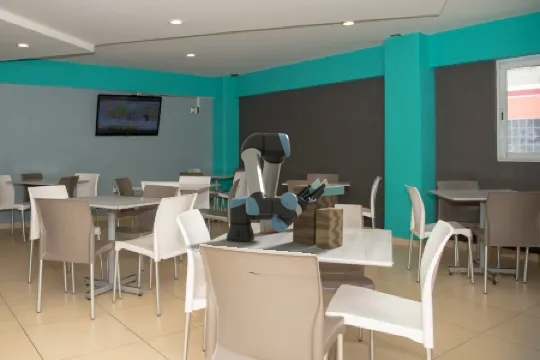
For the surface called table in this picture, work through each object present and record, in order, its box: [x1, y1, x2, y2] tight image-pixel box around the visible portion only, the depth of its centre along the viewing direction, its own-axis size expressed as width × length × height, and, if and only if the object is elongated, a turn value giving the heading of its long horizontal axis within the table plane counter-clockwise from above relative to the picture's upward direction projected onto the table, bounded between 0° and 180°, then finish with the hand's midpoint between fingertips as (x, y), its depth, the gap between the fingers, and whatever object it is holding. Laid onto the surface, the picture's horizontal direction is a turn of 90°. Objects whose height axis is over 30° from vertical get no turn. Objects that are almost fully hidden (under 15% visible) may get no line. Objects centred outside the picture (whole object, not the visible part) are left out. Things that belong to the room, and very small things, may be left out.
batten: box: [309, 185, 345, 196], centre depth 243 cm, size 24×4×4 cm, turn 137°
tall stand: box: [292, 183, 336, 246], centre depth 259 cm, size 18×14×30 cm
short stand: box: [315, 207, 344, 250], centre depth 246 cm, size 12×8×19 cm, turn 136°
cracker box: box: [259, 219, 285, 235], centre depth 287 cm, size 14×6×21 cm, turn 123°
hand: (322, 181), depth 240 cm, fingers closed on batten, 4 cm apart
